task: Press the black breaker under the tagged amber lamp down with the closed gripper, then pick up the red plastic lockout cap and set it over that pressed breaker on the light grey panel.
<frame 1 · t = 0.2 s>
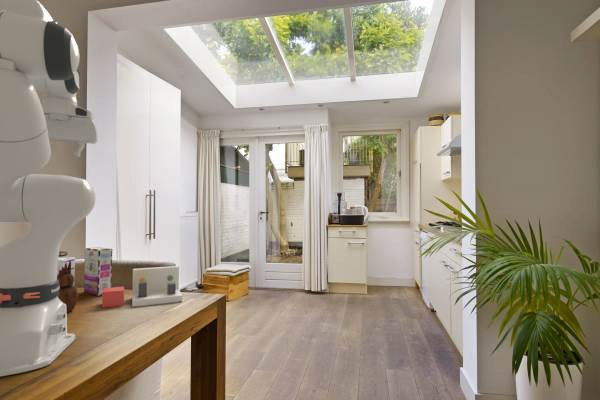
hand: (59, 155, 106), 47 cm above the table, fingers open, 8 cm apart
candy bar box: (97, 293, 125), on the table
wooden figurine: (63, 312, 102), on the table
breaker panel: (156, 299, 116), on the table
lockout cap: (113, 304, 111), on the table
candlestick: (48, 293, 125), on the table
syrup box: (60, 301, 114), on the table
breaker: (142, 290, 113), point 4 cm above the table, slide at 0.0 cm
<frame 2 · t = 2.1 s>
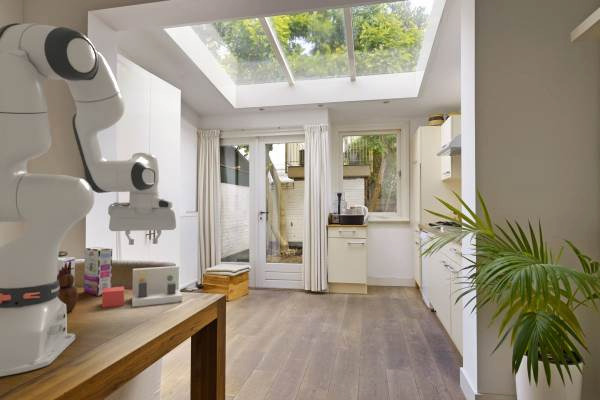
hand: (143, 244, 114), 19 cm above the table, fingers open, 6 cm apart
nothing on the table moved.
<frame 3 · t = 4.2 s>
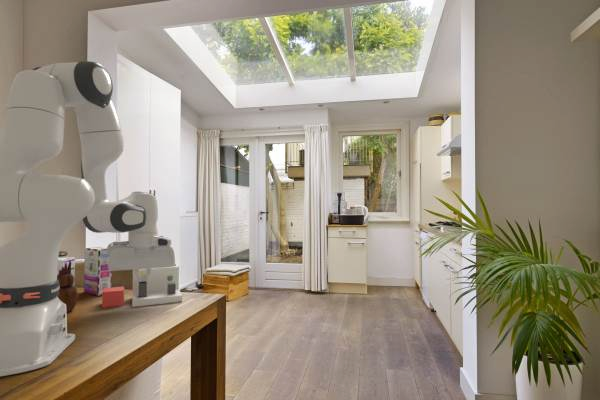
hand: (142, 282, 114), 7 cm above the table, fingers closed, pressing on breaker
breaker: (142, 290, 113), point 4 cm above the table, slide at 0.0 cm, touching gripper
everything else where it was.
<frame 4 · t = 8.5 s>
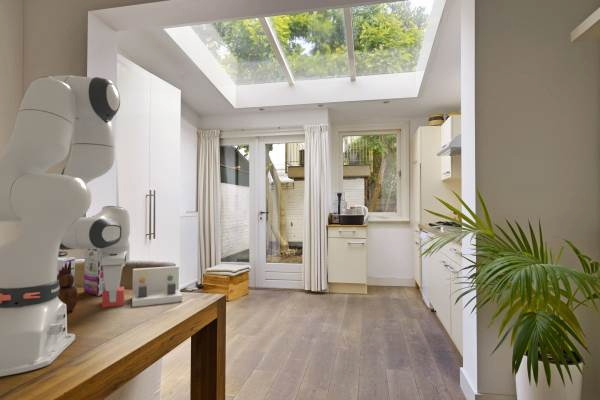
hand: (113, 298, 111), 2 cm above the table, fingers closed on lockout cap, 6 cm apart
lockout cap: (113, 304, 111), on the table, touching gripper
breaker: (142, 293, 113), point 3 cm above the table, slide at 1.2 cm
everything else where it was.
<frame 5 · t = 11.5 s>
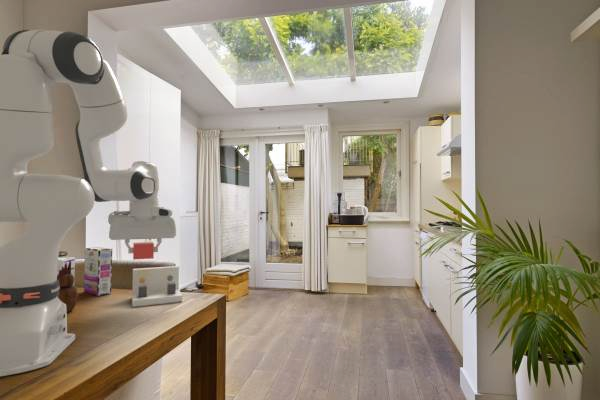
hand: (143, 252, 114), 16 cm above the table, fingers closed on lockout cap, 6 cm apart
lockout cap: (143, 257, 114), point 15 cm above the table, touching gripper
everything else where it was.
when the fingers open (5 cm above the table, at t = 14.5 s): lockout cap stays where it is, resting on breaker panel.
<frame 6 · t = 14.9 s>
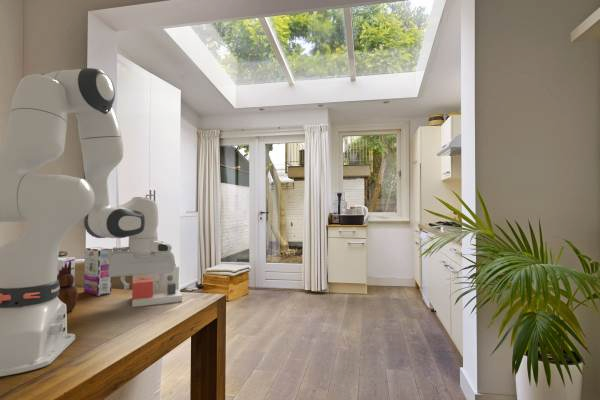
hand: (142, 288, 113), 5 cm above the table, fingers open, 8 cm apart
lockout cap: (142, 296, 113), point 2 cm above the table, touching breaker panel
everything else where it was.
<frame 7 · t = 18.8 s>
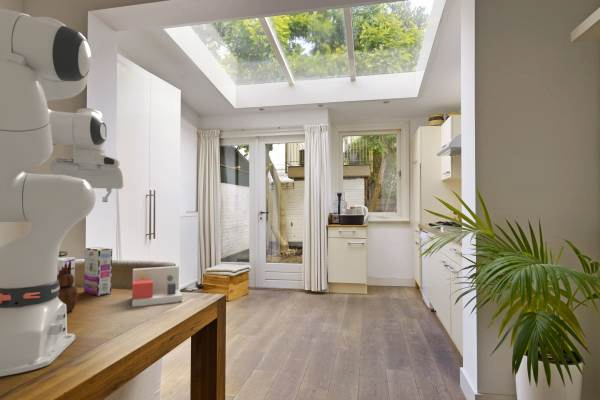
hand: (88, 202, 112), 33 cm above the table, fingers open, 8 cm apart
nothing on the table moved.
at the end: breaker slide at 1.2 cm; lockout cap 0.0 cm from the target spot, point 2.0 cm above the table; lockout cap tilted 0° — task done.
